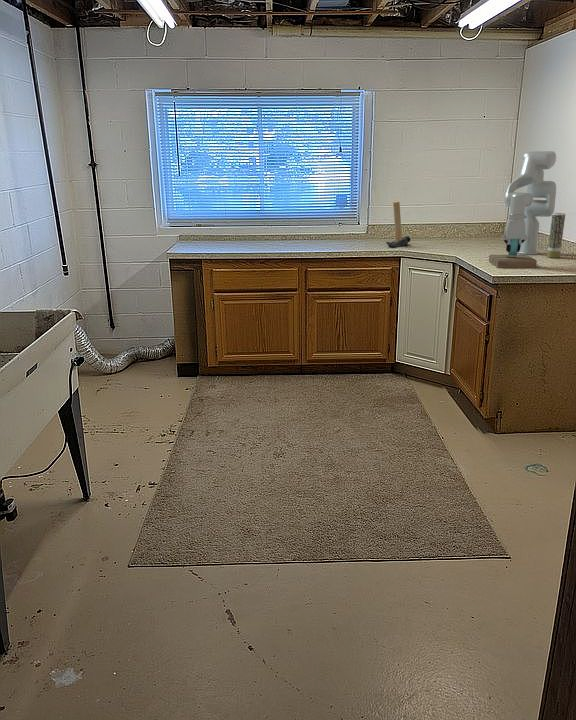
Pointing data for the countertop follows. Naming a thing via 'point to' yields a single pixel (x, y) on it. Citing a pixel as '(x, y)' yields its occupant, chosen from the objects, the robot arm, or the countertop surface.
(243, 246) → the countertop surface
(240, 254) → the countertop surface
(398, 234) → the hammer
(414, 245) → the countertop surface
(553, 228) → the bark patterned cylinder
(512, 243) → the dowel peg
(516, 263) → the socket block
